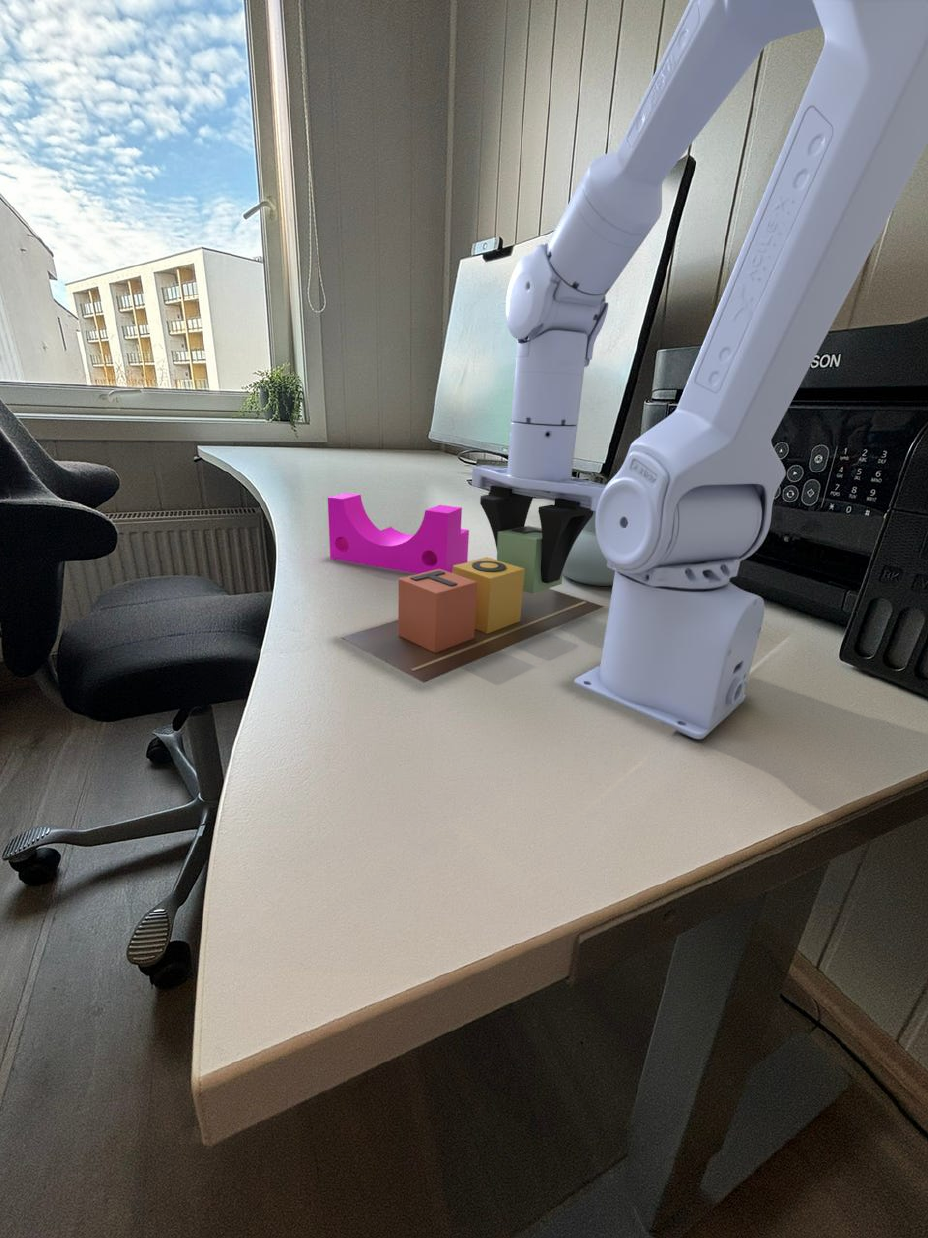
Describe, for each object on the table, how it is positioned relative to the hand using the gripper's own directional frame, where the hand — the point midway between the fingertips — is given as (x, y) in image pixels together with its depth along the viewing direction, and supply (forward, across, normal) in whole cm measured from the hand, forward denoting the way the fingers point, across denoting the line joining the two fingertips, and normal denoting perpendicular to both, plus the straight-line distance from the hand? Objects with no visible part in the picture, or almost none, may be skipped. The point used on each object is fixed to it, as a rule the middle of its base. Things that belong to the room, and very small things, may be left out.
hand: (529, 574), depth 54 cm
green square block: (+1, 0, 0) cm, 1 cm away
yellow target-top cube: (+3, 0, +6) cm, 7 cm away
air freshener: (+4, +1, -14) cm, 15 cm away
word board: (+4, 0, +6) cm, 7 cm away
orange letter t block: (+3, 0, +12) cm, 12 cm away
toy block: (+4, +19, 0) cm, 19 cm away
